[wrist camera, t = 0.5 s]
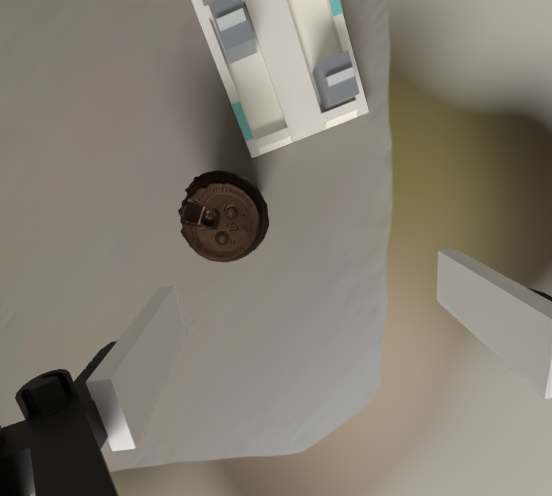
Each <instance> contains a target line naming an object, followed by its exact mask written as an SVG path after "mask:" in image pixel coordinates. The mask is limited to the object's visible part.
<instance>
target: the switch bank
mask: <svg viewBox="0 0 552 496" xmlns="http://www.w3.org/2000/svg"><path fill="white" fill-rule="evenodd" d="M213 1H215V0H192V3H193V6H194V8H195V11H196V14H197V16H198V19H199V21H200V24H201V27H202V29H203V32H204V34H205V37H206V40H207V42H208V45H209V47H210V50H211V53H212V55H213V58H214V60H215V63H216V66H217V68H218V71H219V74H220V76H221V79H222V81H223V84H224V87H225V89H226V92H227V94H228V97H229V100H230V102H231V105H232V108H233V110H234V113H235V116H236V118H237V121H238V123H239V126H240V129H241V131H242V134H243V136H244V139H245V141H246V144H247V147H248V149H249V152H250V154H251V157H252V158H254V157H257V156H259V155H262V154H264V153H267V152H269V151H272V150H275V149H277V148H280V147H282V146H285V145H287V144H290V143H292V142H295V141H297V140H300V139H302V138H305V137H308V136H310V135H313V134H315V133H318V132H320V131H323V130H325V129H328V128H330V127H333V126H335V125H338V124H341V123H343V122H346V121H348V120H351V119H353V118H356V117H358V116H361V115H363V114H366V113H368V112H369V111H368V107H367V103H366V100H365V96H364V92H363V88H362V84H361V81H360V77H359V73H358V69H357V65H356V62H355V58H354V54H353V50H352V46H351V43H350V39H349V35H348V31H347V28H346V24H345V20H344V16H343V10H342V6H341V2H340V0H242V2H243V5H244V8H245V11H246V14H247V17H248V20H249V23H250V26H251V29H252V32H253V34H254V37H255V44H256V51H257V53H255V54H252V55H250V56H248V57H245V58H243V59H240V60H238V61H236V62H233V63H231V62H230V60H229V58H228V56H227V53H226V51H225V48H224V46H223V43H222V40H221V38H220V35H219V32H218V30H217V27H216V24H215V21H214V19H213V16H212V13H211V11H210V8H209V5H208V4H209V3H211V2H213ZM347 50H348V51H349V55H350V59H351V62H352V66H353V70H354V74H355V77H356V81H357V85H358V88H359V92H360V93H359V94H358V95H356V96H355V97H353V98H352V99H350V100H348V101H346V102H343V103H341V104H338V105H336V106H333V107H331V108H328V109H326V110H323V107H322V104H321V100H320V97H319V94H318V91H317V87H316V84H315V81H314V77H313V74H312V73H313V71H314V70H315V68H316V66H317V64H318V62H320V61H323V60H325V59H328V58H330V57H332V56H335V55H337V54H340V53H342V52H344V51H347Z"/></svg>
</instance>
